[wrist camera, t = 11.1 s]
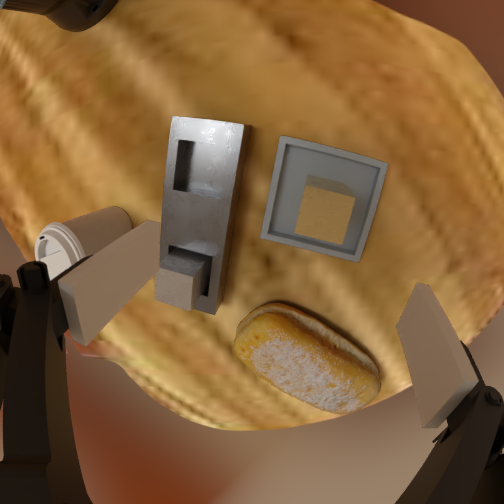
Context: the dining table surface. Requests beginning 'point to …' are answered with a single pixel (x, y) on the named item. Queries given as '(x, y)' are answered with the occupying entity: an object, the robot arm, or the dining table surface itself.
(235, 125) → the grey slotted holder
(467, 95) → the dining table surface
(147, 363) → the dining table surface
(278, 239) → the parts tray
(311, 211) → the tan rectangular block
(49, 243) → the coffee cup
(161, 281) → the grey rectangular block
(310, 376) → the bread
